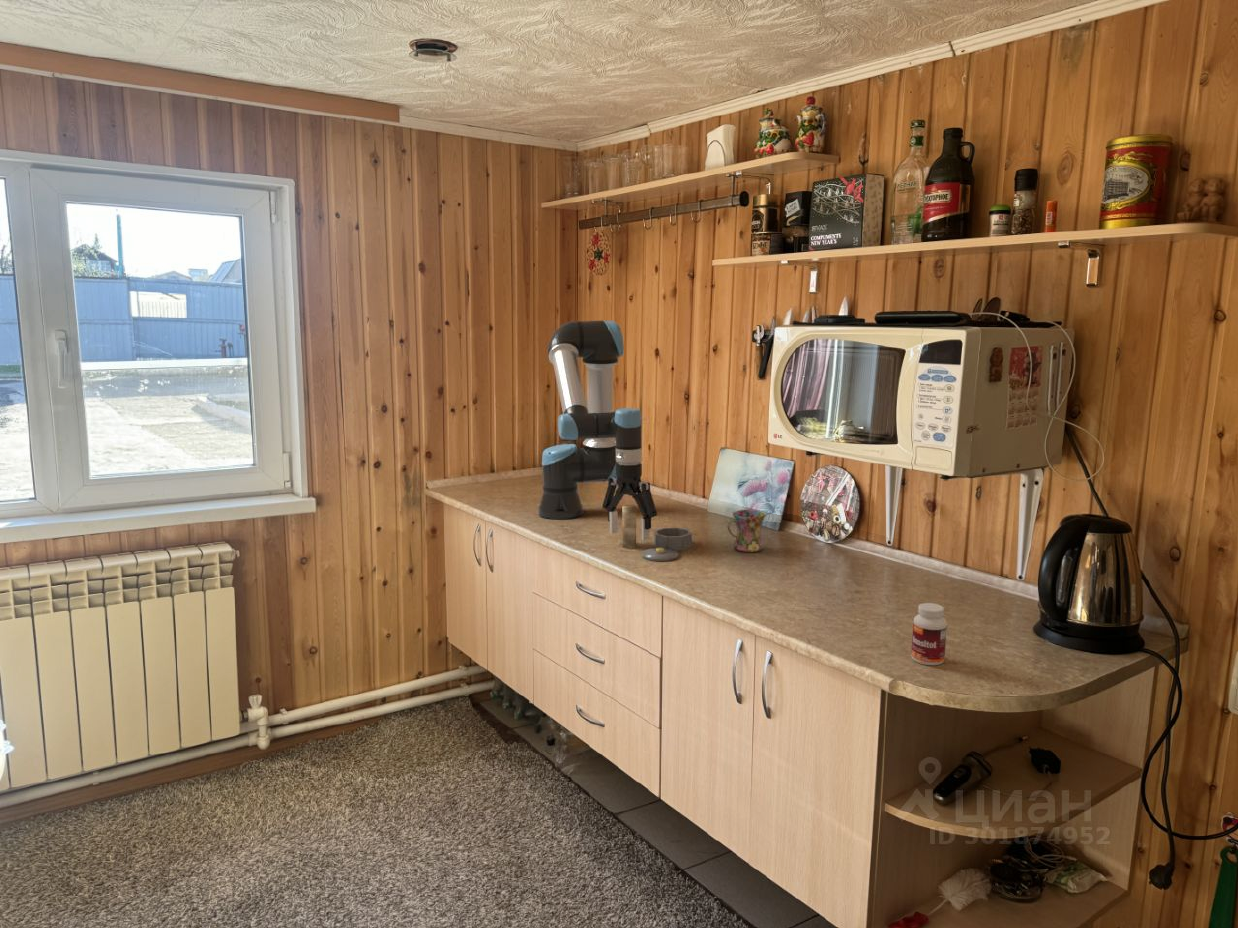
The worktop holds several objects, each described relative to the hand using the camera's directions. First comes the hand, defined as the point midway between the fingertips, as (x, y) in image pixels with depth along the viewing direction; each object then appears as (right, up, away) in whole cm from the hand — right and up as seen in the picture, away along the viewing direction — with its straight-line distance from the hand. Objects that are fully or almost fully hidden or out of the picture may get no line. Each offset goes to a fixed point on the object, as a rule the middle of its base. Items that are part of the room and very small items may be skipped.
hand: (629, 536), depth 250 cm
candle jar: (+13, -3, +1) cm, 13 cm away
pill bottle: (+58, -18, -81) cm, 101 cm away
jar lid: (+9, -5, -9) cm, 14 cm away
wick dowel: (0, -3, +1) cm, 3 cm away
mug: (+33, -4, -4) cm, 33 cm away
